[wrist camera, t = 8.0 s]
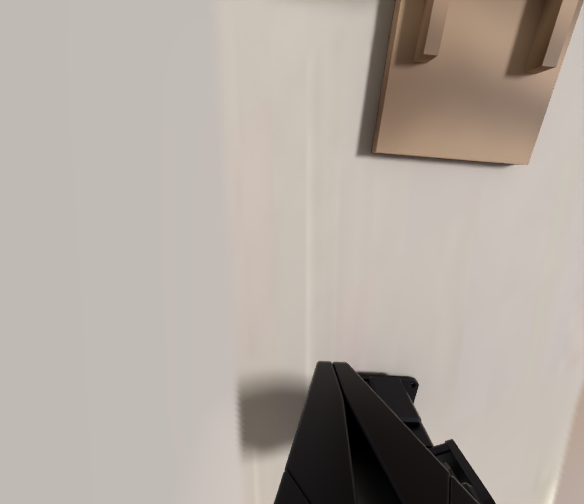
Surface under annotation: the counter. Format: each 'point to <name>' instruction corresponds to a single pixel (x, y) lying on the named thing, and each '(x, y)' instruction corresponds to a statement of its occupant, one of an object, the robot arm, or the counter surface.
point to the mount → (471, 77)
